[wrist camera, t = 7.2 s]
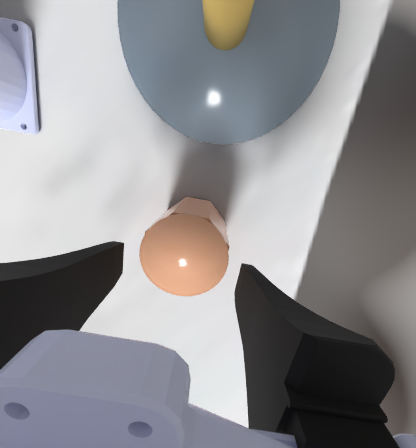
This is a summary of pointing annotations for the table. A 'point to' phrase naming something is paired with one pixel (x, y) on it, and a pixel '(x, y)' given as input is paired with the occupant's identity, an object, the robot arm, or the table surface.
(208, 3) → the capsule
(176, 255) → the tan piece
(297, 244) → the table surface
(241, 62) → the lid
